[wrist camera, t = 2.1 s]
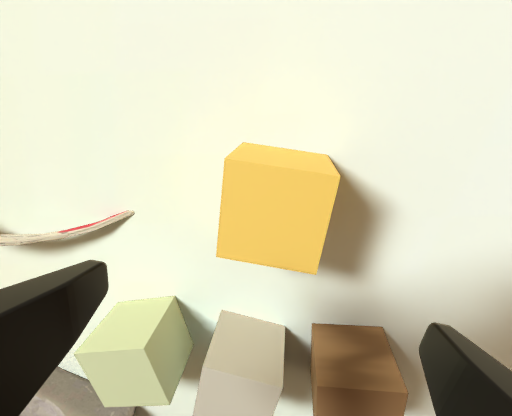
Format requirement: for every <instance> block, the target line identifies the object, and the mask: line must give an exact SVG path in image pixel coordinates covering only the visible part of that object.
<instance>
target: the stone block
mask: <svg viewBox="0 0 512 416" xmlns="http://www.w3.org/2000/svg"><path fill="white" fill-rule="evenodd" d="M134 411H135V406H129V407H104V405H103V404H102V402H101V400H100V398H99V397H98V395H97V393H96V392H95V390H94V388H93V386H92V385H91V383H90V381H89V380H87V379H85V378H82V377H80V376H78V375H76V374H73V373H70V372H68V371H66V370H63V369H62V368H60V367H56V369H55V370H54V371H53V373H52V374H51V375H50V376H49V378H48V379H47V380H46V382H45V383H44V384H43V386H42V387H41V388H40V389H39V391H38V392H37V393H36V395H35V396H34V397H33V399H32V400H31V401H30V402H29V404H28V405H27V406H26V408H25V409H24V410H23V411H22V413H21V414H20V415H19V416H133V415H134Z"/></svg>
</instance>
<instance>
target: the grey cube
mask: <svg viewBox="0 0 512 416" xmlns="http://www.w3.org/2000/svg"><path fill="white" fill-rule="evenodd" d="M284 344H285V326H282V325H279V324H275V323H271V322H267V321H263V320H259V319H255V318H252V317H248V316H244V315H240V314H236V313H232V312H228V311H225V310H221V313H220V316H219V319H218V322H217V325H216V328H215V331H214V334H213V337H212V340H211V343H210V346H209V349H208V352H207V355H206V358H205V361H204V363H203V366H202V371H201V377H200V382H199V387H198V392H197V397H196V402H195V407H194V412H193V416H273V414H274V411H275V408H276V406H277V403H278V400H279V398H280V395H281V392H282V390H283V374H284Z"/></svg>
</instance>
